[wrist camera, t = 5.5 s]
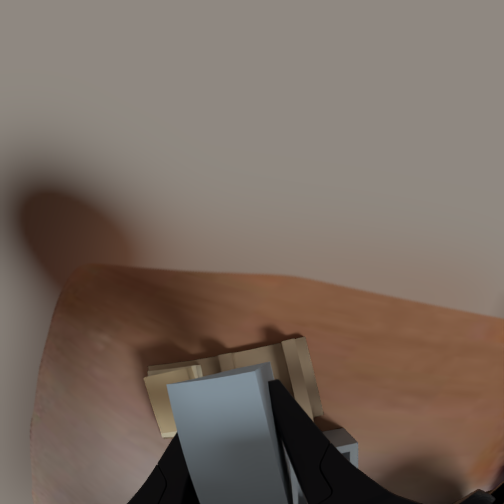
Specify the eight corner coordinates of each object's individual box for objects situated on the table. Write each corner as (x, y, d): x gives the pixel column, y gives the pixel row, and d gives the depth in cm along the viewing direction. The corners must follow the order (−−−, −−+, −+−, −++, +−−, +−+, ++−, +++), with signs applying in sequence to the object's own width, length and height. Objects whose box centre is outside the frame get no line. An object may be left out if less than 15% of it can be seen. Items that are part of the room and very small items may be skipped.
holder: (344, 506, 15) (354, 529, 11) (290, 514, 15) (291, 539, 11) (343, 427, 18) (358, 442, 14) (285, 436, 19) (286, 454, 14)
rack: (322, 413, 19) (329, 422, 16) (166, 437, 19) (150, 446, 16) (304, 336, 22) (308, 333, 19) (150, 366, 22) (132, 366, 19)
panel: (286, 432, 13) (295, 530, 4) (252, 438, 13) (213, 536, 4) (270, 361, 14) (254, 370, 5) (235, 368, 14) (166, 384, 5)
